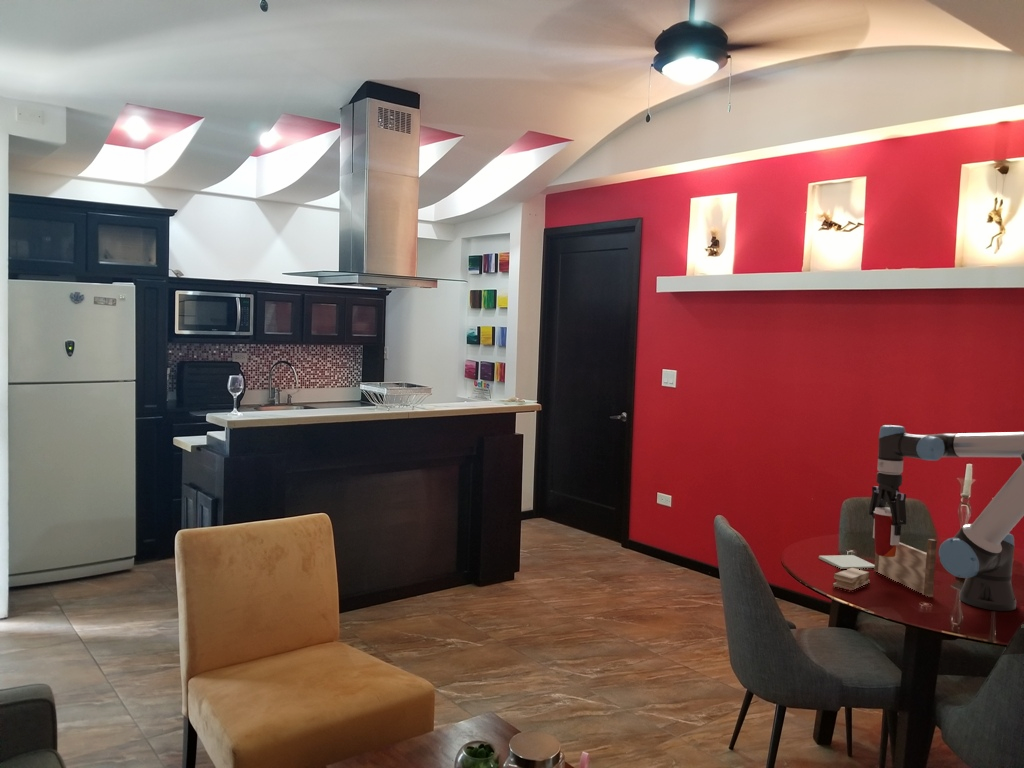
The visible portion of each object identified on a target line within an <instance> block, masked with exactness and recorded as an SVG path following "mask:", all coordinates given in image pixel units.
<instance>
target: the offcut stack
mask: <svg viewBox="0 0 1024 768" xmlns="http://www.w3.org/2000/svg"><path fill="white" fill-rule="evenodd" d="M869 578H870V571H866V570H864V569H860V570H859V569H855V568H850V569H847V570H841V571H839V572H836V573H834V574H833V579H835V580H836V581H835V582H833V584H832V585H833V586H834V587H833V586H832V587H833V588H835V587H840V588H844V589H849V590H854V589H856V588H859V587H861V586H863V585H865V584H868V583H871V580H870V579H869ZM868 585H869V584H868ZM863 587H864V586H863ZM861 588H862V587H861ZM859 589H860V588H859Z"/></svg>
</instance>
